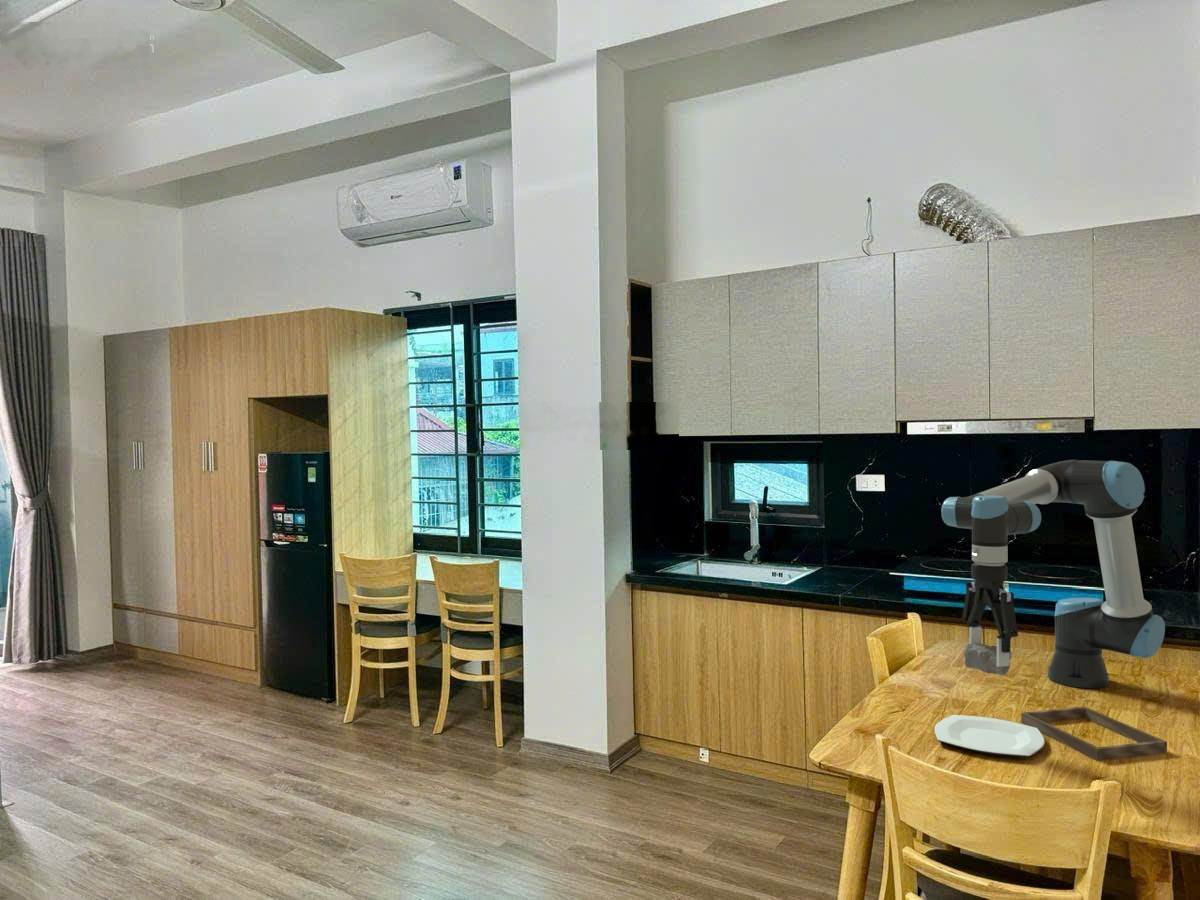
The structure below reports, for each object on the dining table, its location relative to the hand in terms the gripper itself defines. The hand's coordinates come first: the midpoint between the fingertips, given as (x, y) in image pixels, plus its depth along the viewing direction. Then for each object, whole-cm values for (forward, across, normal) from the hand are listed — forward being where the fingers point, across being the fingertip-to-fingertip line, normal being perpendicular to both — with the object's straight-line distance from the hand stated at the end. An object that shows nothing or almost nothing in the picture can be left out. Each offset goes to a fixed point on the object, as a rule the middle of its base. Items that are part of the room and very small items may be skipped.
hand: (988, 659), depth 199 cm
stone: (+3, -1, 0) cm, 3 cm away
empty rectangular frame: (+19, +4, +24) cm, 31 cm away
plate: (+19, 0, 0) cm, 19 cm away
